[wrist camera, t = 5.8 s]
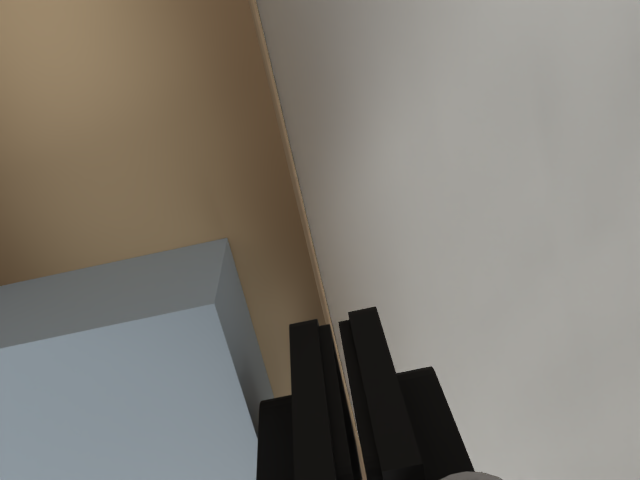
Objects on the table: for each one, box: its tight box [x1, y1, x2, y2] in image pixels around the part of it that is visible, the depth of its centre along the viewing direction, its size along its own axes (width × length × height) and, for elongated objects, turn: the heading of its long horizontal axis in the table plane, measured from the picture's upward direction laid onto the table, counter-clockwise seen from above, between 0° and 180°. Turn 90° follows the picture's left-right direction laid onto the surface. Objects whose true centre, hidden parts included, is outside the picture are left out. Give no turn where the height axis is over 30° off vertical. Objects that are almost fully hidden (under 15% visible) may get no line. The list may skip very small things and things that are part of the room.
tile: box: [0, 238, 274, 480], centre depth 12 cm, size 9×6×2 cm, turn 101°
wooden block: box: [0, 0, 367, 480], centre depth 14 cm, size 12×16×3 cm
